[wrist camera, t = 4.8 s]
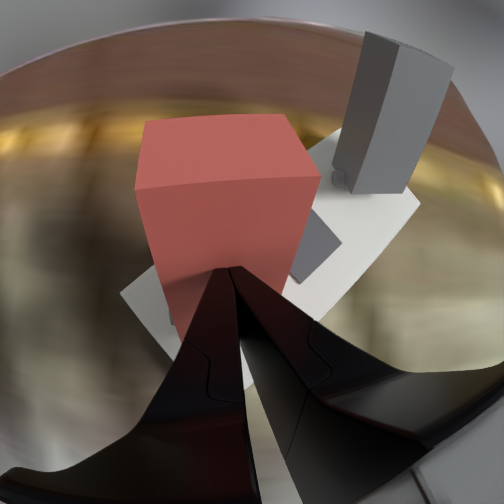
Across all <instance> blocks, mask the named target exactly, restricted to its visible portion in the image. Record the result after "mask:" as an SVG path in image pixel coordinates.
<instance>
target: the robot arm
mask: <svg viewBox="0 0 504 504" xmlns="http://www.w3.org/2000/svg"><path fill="white" fill-rule="evenodd" d="M240 346H241V348H242V351H243V354H244V357H245V360H246V362H247V365H248V368H249V371H250V373H251V376H252V379H253V381H254V384H255V387H256V389H257V392H258V395H259V397H260V400H261V402H262V405H263V408H264V410H265V413H266V415H267V418H268V420H269V423H270V426H271V428H272V431H273V433H274V436H275V438H276V441H277V443H278V446H279V448H280V450H281V453H282V455H283V458H284V460H285V463H286V465H287V468H288V470H289V472H290V475H291V477H292V479H293V482H294V484H295V486H296V489H297V491H298V493H299V496H300V498H301V500H302V502H303V504H504V361H503V362H501V363H500V364H498V365H495V366H492V367H488V368H484V369H477V370H465V371H450V372H426V373H413V372H406V371H402V370H399V369H397V368H394V367H392V366H390V365H388V364H386V363H385V362H383V361H381V360H379V359H377V358H376V357H374V356H372V355H370V354H368V353H367V352H365V351H363V350H361V349H359V348H358V347H356V346H354V345H352V344H351V343H349V342H347V341H346V340H344V339H343V338H341V337H339V336H338V335H336V334H335V333H333V332H332V331H330V330H329V329H327V328H326V327H324V326H323V325H322V324H320V323H319V322H318V321H316V320H314V319H313V318H312V317H311V316H309V315H308V314H306V313H305V312H304V311H302V310H301V309H300V308H298V307H297V306H296V305H294V304H293V303H291V302H290V301H289V300H287V299H286V298H285V297H283V296H282V295H281V294H279V293H278V292H277V291H275V290H274V289H273V288H271V287H270V286H269V285H267V284H266V283H264V282H263V281H262V280H260V279H259V278H258V277H256V276H255V275H254V274H252V273H251V272H250V271H248V270H247V269H246V268H244V267H243V266H233V267H229V268H226V267H225V268H216V269H213V271H212V273H211V275H210V278H209V280H208V282H207V285H206V287H205V289H204V292H203V294H202V296H201V299H200V301H199V303H198V306H197V308H196V310H195V313H194V315H193V318H192V320H191V322H190V325H189V327H188V330H187V332H186V334H185V337H184V341H182V344H181V346H180V349H179V351H178V353H177V355H176V358H175V360H174V362H173V364H172V366H171V368H170V370H169V371H168V373H167V375H166V377H165V379H164V380H163V382H162V384H161V385H160V387H159V389H158V390H157V392H156V394H155V395H154V397H153V399H152V400H151V402H150V404H149V406H148V407H147V409H146V411H145V412H144V414H143V416H142V417H141V419H140V420H139V422H138V423H137V424H136V426H135V427H134V428H133V429H132V430H131V431H130V432H129V433H128V434H126V435H125V436H123V437H122V438H120V439H119V440H117V441H115V442H114V443H112V444H110V445H109V446H107V447H105V448H104V449H102V450H100V451H99V452H97V453H95V454H93V455H92V456H90V457H88V458H87V459H85V460H83V461H81V462H79V463H78V464H76V465H74V466H72V467H69V468H67V469H64V470H60V471H56V472H41V471H36V470H31V469H27V468H22V467H14V468H11V469H10V470H8V471H7V472H5V473H4V474H3V475H1V476H0V501H2V502H4V503H6V504H262V501H261V496H260V491H259V485H258V480H257V475H256V469H255V464H254V458H253V453H252V447H251V441H250V435H249V429H248V422H247V414H246V404H245V394H244V383H243V372H242V361H241V350H240Z"/></svg>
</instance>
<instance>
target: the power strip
mask: <svg viewBox="0 0 504 504" xmlns="http://www.w3.org/2000/svg"><path fill="white" fill-rule="evenodd" d="M341 129H342V127H341V128H340V129H338V130H337V131H335V132H334V133H332V134H331V135H329V136H328V137H326V138H325V139H323V140H322V141H320V142H319V143H317V144H316V145H314V146H313V147H311V148H310V149H308V150H307V152H308V154H309V156H310V157H311V159H312V161H313V162H314V164H315V166H316V167H317V169H318V171H319V173H320V174H321V179H320V183H319V186H318V189H317V192H316V195H315V198H314V201H313V204H312V207H311V211H310V214H309V217H308V220H307V223H306V226H305V229H304V232H303V235H302V238H301V240H300V243H299V246H298V249H297V252H296V255H295V258H294V261H293V264H292V266H291V269H290V272H289V275H288V278H287V281H286V283H285V286H284V289H283V292H282V294H281V295H282V296H283V297H285V298H286V299H287V300H289V301H290V302H291V303H293V304H294V305H296V306H297V307H298V308H300V309H301V310H302V311H304V312H305V313H306V314H308V315H309V316H311V317H312V318H313V319H314V320H316V321H319V320H320V319H321V318H322V317H323V316H324V315H325V314H326V313H327V312H328V311H329V310H330V309H331V308H332V307H333V306H334V304H335V303H336V302H337V301H338V300H339V299H340V298H341V297H342V296H343V295H344V294H345V293H346V292H347V291H348V290H349V288H350V287H351V286H352V285H353V284H354V283H355V282H356V281H357V280H358V279H359V277H360V276H361V275H362V274H363V273H364V272H365V271H366V270H367V268H368V267H369V266H370V265H371V264H372V263H373V262H374V260H375V259H376V258H377V257H378V256H379V255H380V253H381V252H382V251H383V250H384V249H385V247H386V246H387V245H388V244H389V243H390V241H391V240H392V239H393V238H394V237H395V235H396V234H397V233H398V232H399V230H400V229H401V228H402V227H403V226H404V224H405V223H406V222H407V220H408V219H409V218H410V217H411V215H412V214H413V213H414V212H415V210H416V209H417V208H418V206H419V205H420V202H419V201H418V200H417V199H416V197H415V196H414V195H413V194H412V192H411V191H410V190H409V189H408V187H407V186H406V188H405V190H404V192H403V194H354V195H351V193H350V192H349V190H348V188H347V187H334V186H333V184H332V179H331V176H332V172H333V171H334V170H335V169H334V168H333V166H332V165H331V164H332V161H333V157H334V154H335V150H336V147H337V143H338V140H339V136H340V132H341ZM120 294H121V296H122V297H123V298H124V300H125V301H126V303H127V304H128V305H129V307H130V308H131V309H132V311H133V312H134V313H135V314H136V316H137V317H138V318H139V320H140V321H141V322H142V324H143V325H144V326H145V327H146V329H147V330H148V331H149V332H150V334H151V335H152V336H153V337H154V338H155V340H156V341H157V342H158V343H159V344H160V346H161V347H162V348H163V349H164V350H165V352H166V353H167V354H168V355H169V356H170V357H171V359H172V360H173V361H174V360H175V358H176V355H177V353H178V351H179V349H180V346H181V344H182V343H181V341H180V338H179V335H178V333H177V330H176V327H175V325H171V323H170V318H169V307H168V304H167V301H166V298H165V295H164V292H163V289H162V286H161V283H160V280H159V277H158V274H157V271H156V267H155V264H154V265H153V266H152V267H150V268H149V269H148V270H147V271H145V272H144V273H143V274H142V275H141V276H139V277H138V278H137V279H136V280H135V281H133V282H132V283H131V284H130V285H129V286H127V287H126V288H125V289H124V290H123V291H121V292H120ZM240 350H241V361H242V372H243V383H244V390H245V389H246V388H248V387H249V386H250V385H251V384H252V383H253V382H254V381H253V379H252V376H251V373H250V371H249V368H248V365H247V362H246V360H245V357H244V354H243V351H242V348H241V346H240Z"/></svg>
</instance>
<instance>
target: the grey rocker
mask: <svg viewBox="0 0 504 504" xmlns="http://www.w3.org/2000/svg"><path fill="white" fill-rule="evenodd" d="M453 71H454V67H453V66H451V65H450V64H448V63H446V62H444V61H442V60H441V59H439V58H437V57H435V56H433V55H431V54H429V53H427V52H425V51H423V50H421V49H419V48H416V47H413V46H411V45H408V44H405V43H402V42H399V41H396V40H394V39H391V38H388V37H384V36H381V35H378V34H374V33H371V32H367V31H366V32H365V36H364V41H363V45H362V50H361V54H360V58H359V62H358V67H357V71H356V75H355V79H354V83H353V87H352V91H351V95H350V99H349V103H348V106H347V110H346V114H345V118H344V121H343V125H342V129H341V132H340V136H339V140H338V143H337V147H336V150H335V154H334V157H333V161H332V164H331V165H332V166H333V168H334V169H335V170H334V171H333V172H332V176H331V179H332V184H333V186H334V187H347V188H348V190H349V192H350V193H351V195H354V194H403V192H404V190H405V188H406V186H407V184H408V182H409V180H410V178H411V175H412V173H413V171H414V169H415V167H416V165H417V163H418V160H419V158H420V156H421V154H422V151H423V149H424V147H425V144H426V142H427V140H428V137H429V135H430V133H431V130H432V128H433V125H434V123H435V120H436V118H437V115H438V113H439V110H440V108H441V105H442V102H443V100H444V97H445V94H446V91H447V89H448V86H449V83H450V80H451V77H452V74H453Z"/></svg>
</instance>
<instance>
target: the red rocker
mask: <svg viewBox="0 0 504 504" xmlns="http://www.w3.org/2000/svg"><path fill="white" fill-rule="evenodd" d="M320 179H321V174H320V173H319V171H318V169H317V167H316V166H315V164H314V162H313V161H312V159H311V157H310V156H309V154H308V152H307V150H306V149H305V147H304V145H303V144H302V142H301V141H300V139H299V137H298V136H297V134H296V132H295V131H294V129H293V128H292V126H291V125H290V123H289V121H288V120H287V118H286V117H285V115H284V114H227V115H207V116H192V117H180V118H170V119H161V120H152V121H145V126H144V131H143V137H142V143H141V148H140V155H139V161H138V168H137V175H136V182H135V194H136V198H137V202H138V206H139V210H140V214H141V218H142V222H143V225H144V229H145V233H146V236H147V240H148V244H149V247H150V250H151V254H152V257H153V261H154V264H155V267H156V271H157V274H158V277H159V280H160V283H161V286H162V289H163V292H164V295H165V298H166V301H167V304H168V307H169V318H170V323H171V325H175V327H176V330H177V333H178V335H179V338H180V341H181V343H182V341H184V337H185V334H186V332H187V330H188V327H189V325H190V322H191V320H192V318H193V315H194V313H195V310H196V308H197V306H198V303H199V301H200V299H201V296H202V294H203V292H204V289H205V287H206V285H207V282H208V280H209V278H210V275H211V273H212V271H213V269H216V268H225V267H226V268H229V267H233V266H243V267H244V268H246V269H247V270H248V271H250V272H251V273H252V274H254V275H255V276H256V277H258V278H259V279H260V280H262V281H263V282H264V283H266V284H267V285H269V286H270V287H271V288H273V289H274V290H275V291H277V292H278V293H279V294H282V292H283V289H284V286H285V283H286V281H287V278H288V275H289V272H290V269H291V266H292V264H293V261H294V258H295V255H296V252H297V249H298V246H299V243H300V240H301V238H302V235H303V232H304V229H305V226H306V223H307V220H308V217H309V214H310V211H311V207H312V204H313V201H314V198H315V195H316V192H317V189H318V186H319V183H320Z"/></svg>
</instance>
